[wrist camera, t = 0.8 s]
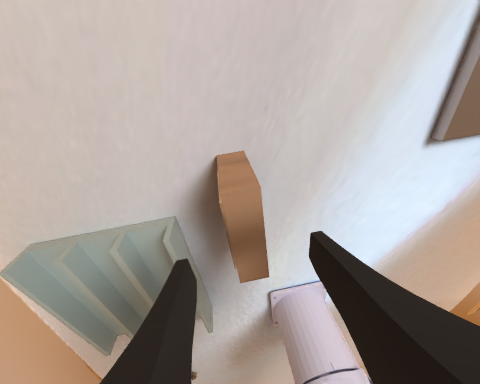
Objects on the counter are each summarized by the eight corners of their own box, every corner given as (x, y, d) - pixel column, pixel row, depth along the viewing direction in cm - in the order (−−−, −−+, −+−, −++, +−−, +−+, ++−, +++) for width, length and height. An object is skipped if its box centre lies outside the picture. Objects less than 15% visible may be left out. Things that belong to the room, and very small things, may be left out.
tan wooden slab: (253, 225, 19) (269, 277, 14) (230, 229, 19) (237, 283, 14) (243, 150, 15) (260, 185, 10) (213, 155, 15) (215, 194, 10)
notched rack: (212, 307, 26) (212, 332, 23) (116, 327, 25) (105, 356, 22) (175, 216, 17) (168, 239, 15) (30, 244, 17) (-3, 274, 14)
